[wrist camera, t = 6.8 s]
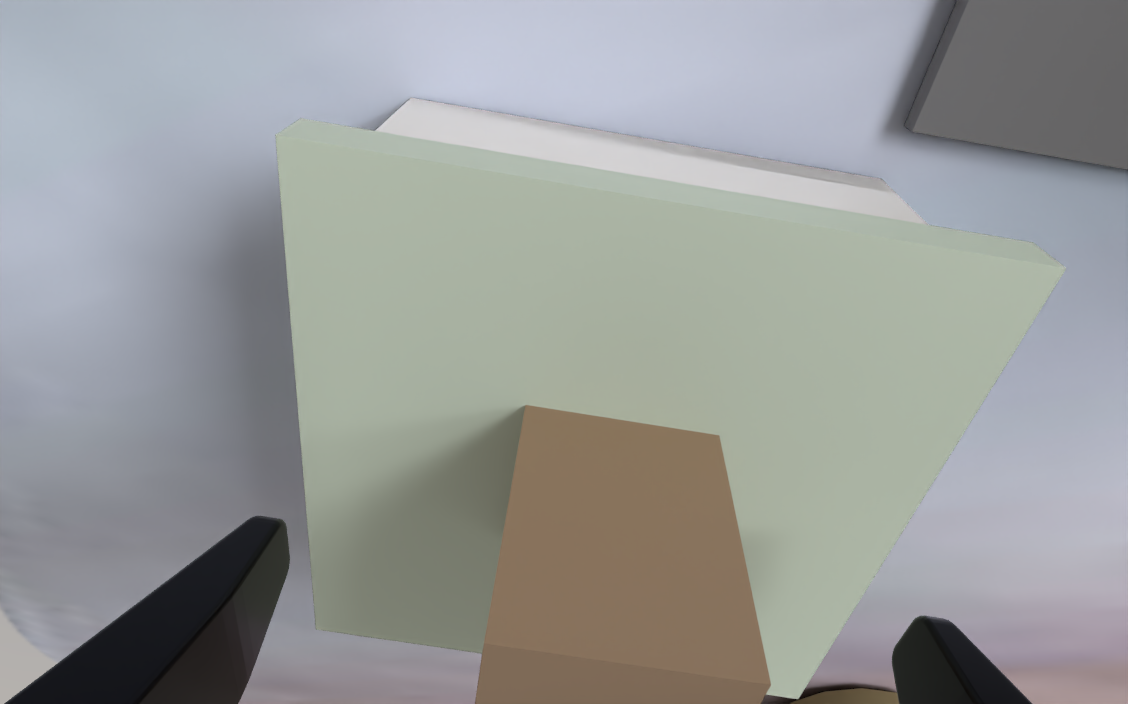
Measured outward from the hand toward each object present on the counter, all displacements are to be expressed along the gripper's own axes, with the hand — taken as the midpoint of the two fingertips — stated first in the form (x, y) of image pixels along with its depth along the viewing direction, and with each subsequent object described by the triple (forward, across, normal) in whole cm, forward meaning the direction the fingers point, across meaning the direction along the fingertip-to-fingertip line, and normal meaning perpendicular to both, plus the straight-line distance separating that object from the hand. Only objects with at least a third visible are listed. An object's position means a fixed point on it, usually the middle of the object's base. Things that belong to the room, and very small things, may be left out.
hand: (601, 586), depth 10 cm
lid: (+3, 0, 0) cm, 3 cm away
